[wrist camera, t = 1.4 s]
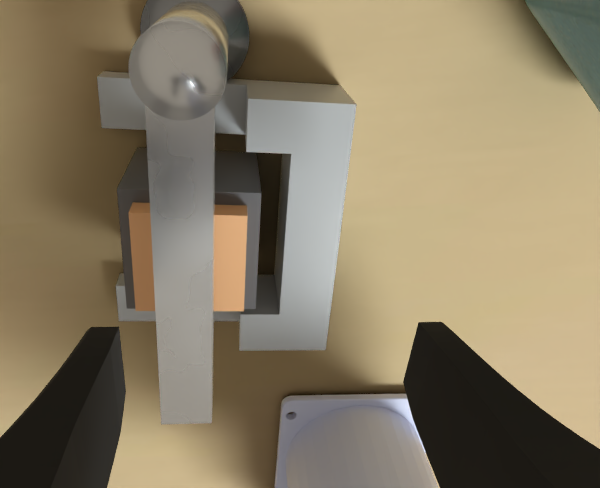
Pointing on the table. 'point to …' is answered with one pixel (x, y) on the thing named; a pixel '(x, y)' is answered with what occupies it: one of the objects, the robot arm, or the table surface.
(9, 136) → the table surface
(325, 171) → the socket
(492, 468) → the robot arm
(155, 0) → the door handle base
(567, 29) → the flower pot
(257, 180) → the orange and grey block
